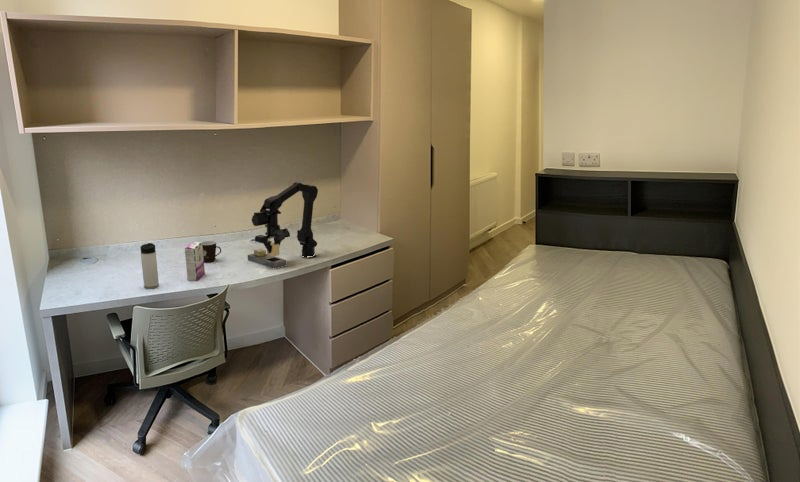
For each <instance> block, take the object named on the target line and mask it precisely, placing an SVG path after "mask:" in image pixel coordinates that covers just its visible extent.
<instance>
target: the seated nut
mask: <svg viewBox="0 0 800 482" xmlns="http://www.w3.org/2000/svg"><path fill="white" fill-rule="evenodd" d="M253 253H254V256H256V257H263V256H266V254H267V249H263V248H258V249H253Z"/></svg>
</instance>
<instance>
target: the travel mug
mask: <svg viewBox="0 0 800 482" xmlns="http://www.w3.org/2000/svg"><path fill="white" fill-rule="evenodd" d="M139 247H140V257H141V258H140V259H141V267H142V268H141V269H142V270H141V271H142V278H143V279H142V280H143V288H144V289H148V290H151V289H152V290H153V289H156V288H158V287H159V286H160V284H159V274H158V259H157V250H156V245H155V243H153V242H149V243H145V244H142V245H141V246H139Z"/></svg>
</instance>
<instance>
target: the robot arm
mask: <svg viewBox="0 0 800 482" xmlns="http://www.w3.org/2000/svg"><path fill="white" fill-rule="evenodd" d="M299 192H301V196H302V198H303V202H304V203H303V209H302V211H303V212H302V222H301V227H300V229H297V231H296V238H297V241H298V242H299V245H300V246H301V248H302V249H301V255H302V256H304V257H307V256H313V255H314V254H315V255H316V253H315V249H316V247H317V246H318V242H317V241H316V239H315V238H314V232H313V229H312V222H313V221H312V219H313V211H314V210H313V209H314V203H315V201H316V199H317V197H318V193H319V189H318V187H317V186H316V185H311V184H303V183H301V182H297V181H295V182H293V184H292V185H289V186H288V187H287V188H286V189H284V190H282V191H281V192H280V193H278V194H276V195H273V196H270V197H267V198H265V200H264V201H263V204H262V206H261V208H260V209H259V211H257V212H256V211H255V212H253V215H252V216H251V222H252V225H253V226H254V227H259V226H264V227H265V228H266V232H265V235H263V234H259V235H255V236H254V241H255V242H256V243H260V244H263V245H264V246H265V248H266V249H265V250H266V252H267V251H268V253H271V243H273V241H274V243H277V244H279V247H280V246H281V242H283V241H284V240H285V239H286V238H289V237H291V233H290V231H289V230H288V228H286V227H285V228H281V226H280V224H279V222H278V221H279V220H278V219H279V218H278V217H279V216H278V215H280V214H282V212H281V211H280V210H279V209H280V208H281V207H282V206H283V203H284V202H286V201H287V200H289V199H290V198H292V197H293V196H294V195H296V194H297V193H299ZM271 239H273V241H272V240H271ZM304 257H303V258H304Z"/></svg>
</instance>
